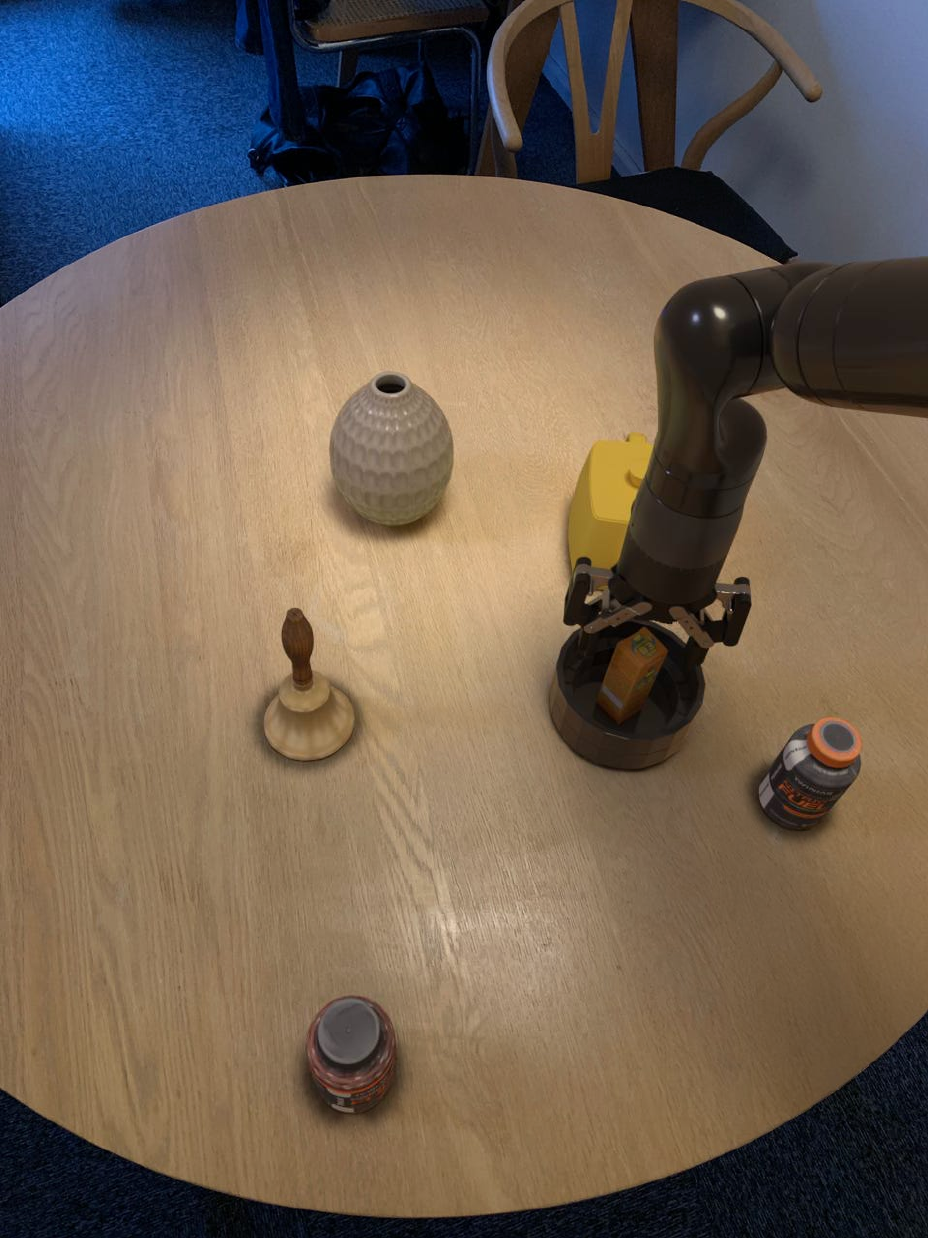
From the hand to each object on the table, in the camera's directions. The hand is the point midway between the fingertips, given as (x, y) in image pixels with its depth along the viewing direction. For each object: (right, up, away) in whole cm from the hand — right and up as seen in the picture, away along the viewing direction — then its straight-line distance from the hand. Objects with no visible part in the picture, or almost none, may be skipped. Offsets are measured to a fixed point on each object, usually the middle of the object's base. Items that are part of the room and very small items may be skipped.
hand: (638, 655), depth 81 cm
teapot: (+2, +10, +19) cm, 22 cm away
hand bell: (-29, -6, +5) cm, 30 cm away
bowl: (-1, -5, +7) cm, 9 cm away
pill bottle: (+14, -13, +3) cm, 19 cm away
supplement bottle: (-23, -30, -12) cm, 40 cm away
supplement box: (0, -5, +7) cm, 9 cm away
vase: (-23, +16, +22) cm, 35 cm away
